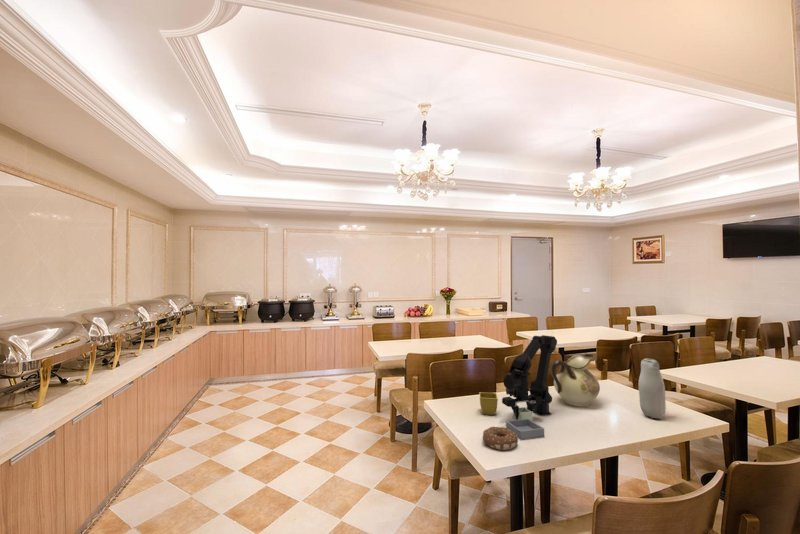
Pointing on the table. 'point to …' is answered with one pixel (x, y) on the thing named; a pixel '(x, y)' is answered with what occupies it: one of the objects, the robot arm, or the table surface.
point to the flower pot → (488, 402)
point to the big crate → (525, 429)
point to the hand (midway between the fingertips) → (522, 418)
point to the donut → (500, 438)
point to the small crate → (524, 414)
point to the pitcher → (575, 381)
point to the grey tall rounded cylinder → (651, 389)
